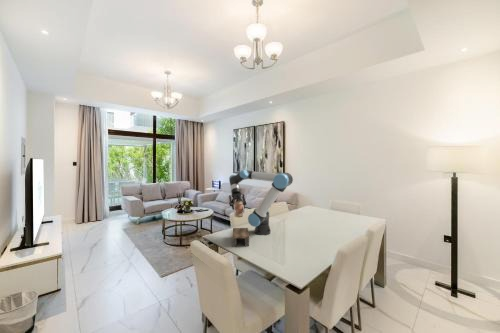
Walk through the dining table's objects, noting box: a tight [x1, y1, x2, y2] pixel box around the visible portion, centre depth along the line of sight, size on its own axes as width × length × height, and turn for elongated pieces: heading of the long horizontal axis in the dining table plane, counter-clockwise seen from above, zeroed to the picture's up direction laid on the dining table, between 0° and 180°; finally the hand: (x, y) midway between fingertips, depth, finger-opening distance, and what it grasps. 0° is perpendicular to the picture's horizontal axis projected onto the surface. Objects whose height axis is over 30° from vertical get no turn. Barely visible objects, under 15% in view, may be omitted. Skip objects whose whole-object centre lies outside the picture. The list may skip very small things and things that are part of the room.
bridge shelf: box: [232, 227, 250, 247], centre depth 182 cm, size 13×20×8 cm, turn 3°
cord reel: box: [234, 200, 244, 218], centre depth 184 cm, size 7×7×12 cm
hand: (239, 212), depth 181 cm, fingers closed on cord reel, 7 cm apart
